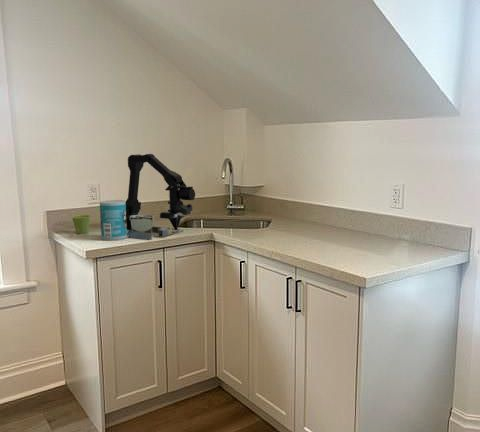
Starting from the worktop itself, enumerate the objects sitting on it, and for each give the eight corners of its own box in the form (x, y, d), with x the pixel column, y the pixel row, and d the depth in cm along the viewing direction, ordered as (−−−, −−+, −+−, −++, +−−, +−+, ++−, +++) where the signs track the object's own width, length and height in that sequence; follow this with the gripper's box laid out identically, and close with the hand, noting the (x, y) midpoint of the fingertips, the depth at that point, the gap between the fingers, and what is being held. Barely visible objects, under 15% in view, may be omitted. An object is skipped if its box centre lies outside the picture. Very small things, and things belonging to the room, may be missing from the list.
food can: (132, 237, 236) (130, 201, 233) (111, 242, 227) (109, 203, 224) (117, 234, 244) (115, 199, 241) (96, 238, 234) (94, 201, 232)
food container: (157, 233, 245) (156, 214, 244) (154, 236, 239) (153, 216, 238) (133, 233, 246) (133, 214, 245) (129, 236, 240) (129, 216, 239)
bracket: (125, 237, 238) (125, 231, 238) (146, 231, 252) (146, 225, 252) (150, 239, 231) (149, 233, 230) (170, 233, 245) (170, 227, 245)
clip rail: (157, 237, 236) (157, 229, 236) (178, 231, 252) (178, 223, 251) (162, 238, 235) (162, 229, 234) (183, 231, 250) (182, 224, 250)
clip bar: (162, 236, 238) (161, 228, 238) (169, 234, 244) (169, 226, 243) (164, 236, 238) (164, 229, 237) (171, 234, 243) (171, 227, 242)
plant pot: (77, 235, 243) (76, 218, 241) (69, 233, 250) (68, 216, 248) (94, 233, 249) (93, 216, 247) (87, 230, 256) (86, 214, 254)
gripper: (177, 202, 233) (178, 234, 235) (198, 198, 249) (199, 228, 251) (158, 201, 238) (159, 232, 240) (180, 197, 254) (181, 226, 257)
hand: (176, 229), depth 247 cm, fingers closed
